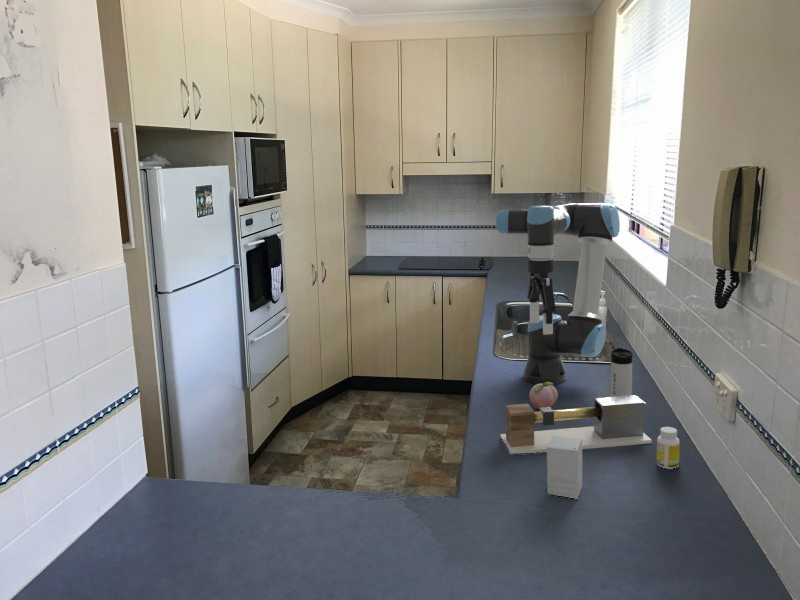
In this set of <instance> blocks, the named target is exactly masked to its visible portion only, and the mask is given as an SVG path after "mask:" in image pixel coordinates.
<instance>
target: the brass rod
mask: <svg viewBox="0 0 800 600" xmlns="http://www.w3.org/2000/svg"><path fill="white" fill-rule="evenodd" d="M597 417H601V407H600V406H599V407H594V406H591V407H578V408H577V407H575V408H565V409H553V408H552V407H542V408H540V410H539V411H534V424H535V423H541V425H542V426H543V427H546V426H554V425H555V422H559V421H560V422H561V421H570V420H572V421H573V420H581V419H583V420H584V419H594V418H597Z"/></svg>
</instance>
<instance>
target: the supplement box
mask: <svg viewBox="0 0 800 600" xmlns="http://www.w3.org/2000/svg"><path fill="white" fill-rule="evenodd" d="M546 472H547V473H546V474H547V475H546V479H547V483H546V484H547V485H546V486H547V494H548V493H550V494H554V495H558V496H564V497H569V498H568V499H570V498H575V499H574V500H576V499H577V500H578V499H579V497H578V496H580V494H581V492H582V487H583V449H582V439H579V438H570V437H562V436H554V435H553V437H552V439H551V441H550V442H549V444H548V446H547V452H546ZM564 497H563V498H564Z"/></svg>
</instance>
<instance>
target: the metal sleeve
mask: <svg viewBox="0 0 800 600" xmlns="http://www.w3.org/2000/svg"><path fill="white" fill-rule="evenodd" d="M593 399H594V403H593V405H594V406H593V407H599V406H600V407H601V417H597V418H593V426H594V431H595V432H596V433H597V434H598V435H599V437H600V438H601V439H611V438H623V437H634V436H643V433H644V426H645V425H644V423H645V422H646V419H647V403H646V402H645V401H644V400H642V399H641V398H640V397H639V396H638V395H636V394H632V395H628V396H615V397H610V396H607V397H605V396H604V397H594V398H593Z"/></svg>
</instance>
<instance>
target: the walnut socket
mask: <svg viewBox="0 0 800 600" xmlns="http://www.w3.org/2000/svg"><path fill="white" fill-rule="evenodd" d="M534 412H535V410H534V409H533V408H532V407H531V406H530V405H529V403H519V404H509V405H508V404H507V405H505V434H506V439H507V441H508V442H509V444H510V446H511V447H519V446H530V445H534V431H535V423H534Z"/></svg>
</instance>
